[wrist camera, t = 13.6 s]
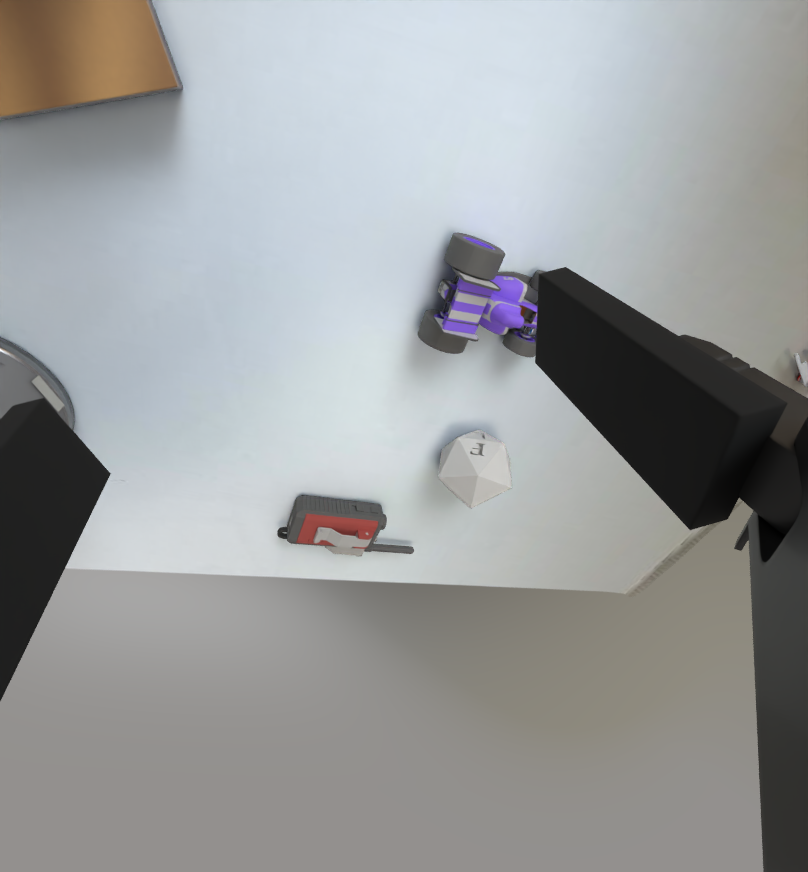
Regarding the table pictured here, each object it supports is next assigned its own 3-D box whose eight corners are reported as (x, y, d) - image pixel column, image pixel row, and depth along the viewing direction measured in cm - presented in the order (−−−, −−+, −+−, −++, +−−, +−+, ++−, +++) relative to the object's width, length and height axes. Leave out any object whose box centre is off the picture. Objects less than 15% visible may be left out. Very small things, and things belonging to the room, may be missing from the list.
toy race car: (534, 355, 48) (563, 385, 43) (411, 327, 42) (428, 357, 37) (580, 271, 42) (618, 294, 37) (446, 227, 37) (470, 246, 32)
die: (510, 431, 55) (524, 440, 45) (500, 498, 56) (511, 521, 46) (445, 423, 56) (444, 429, 46) (436, 489, 57) (433, 509, 47)
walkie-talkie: (273, 537, 57) (408, 547, 64) (272, 564, 53) (415, 572, 61) (288, 490, 52) (432, 508, 60) (288, 517, 49) (440, 532, 56)
